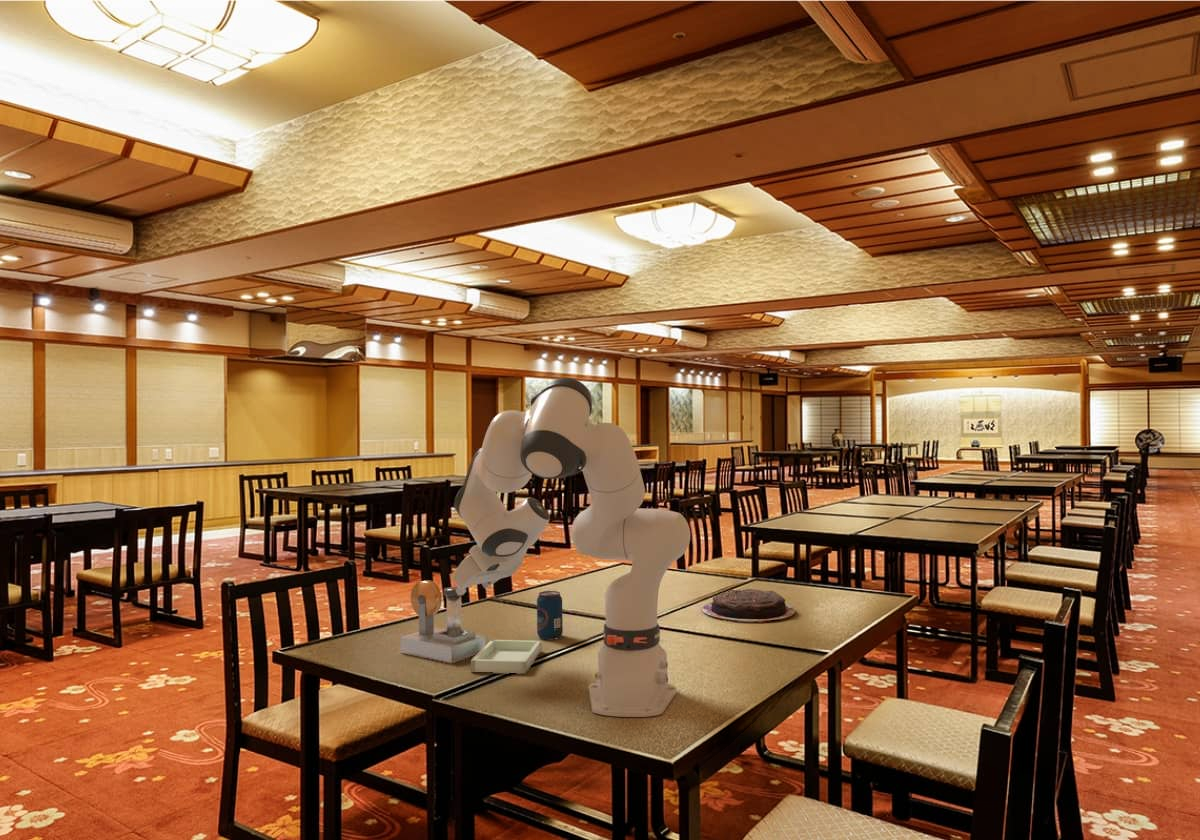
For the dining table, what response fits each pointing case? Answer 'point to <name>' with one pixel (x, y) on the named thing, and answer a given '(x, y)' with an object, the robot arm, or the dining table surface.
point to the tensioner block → (437, 630)
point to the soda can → (549, 615)
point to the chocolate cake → (748, 606)
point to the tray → (506, 656)
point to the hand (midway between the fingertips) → (472, 589)
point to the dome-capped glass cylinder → (453, 611)
